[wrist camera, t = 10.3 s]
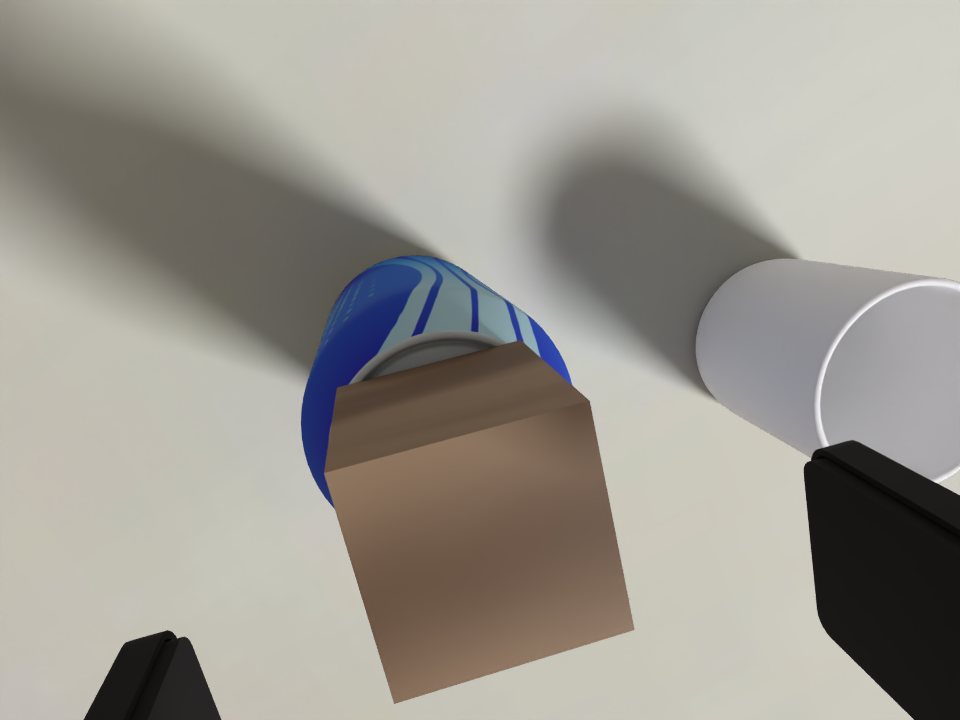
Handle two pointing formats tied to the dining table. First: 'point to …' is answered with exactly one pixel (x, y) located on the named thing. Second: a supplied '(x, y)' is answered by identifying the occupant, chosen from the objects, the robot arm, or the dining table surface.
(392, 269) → the beer can
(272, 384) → the dining table surface
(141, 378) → the dining table surface
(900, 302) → the mug
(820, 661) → the dining table surface
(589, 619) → the walnut block
